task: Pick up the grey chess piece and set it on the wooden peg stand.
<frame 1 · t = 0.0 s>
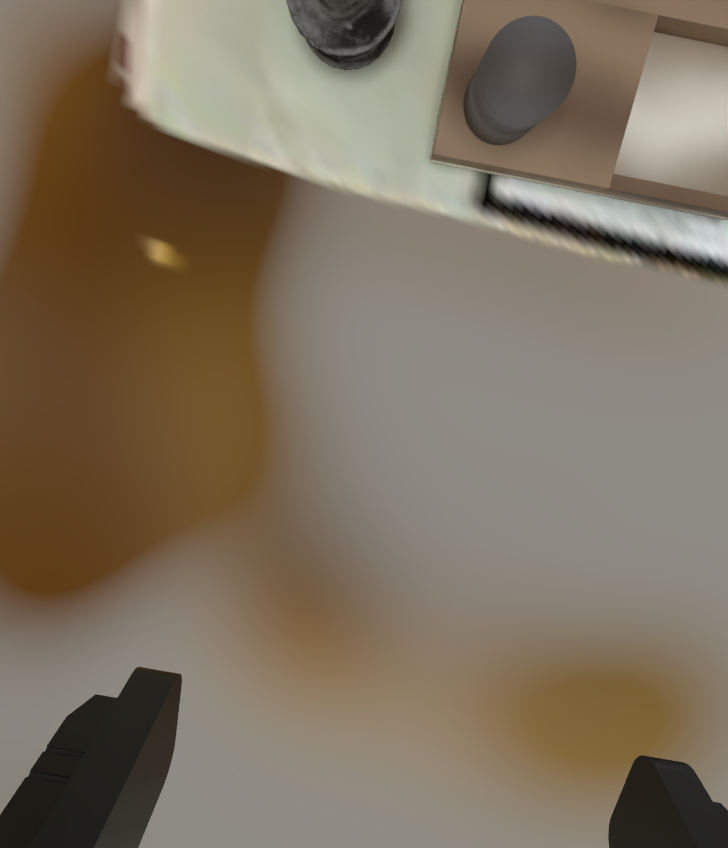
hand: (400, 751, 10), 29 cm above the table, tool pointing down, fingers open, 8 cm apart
wooden peg stand: (624, 17, 32), on the table
grey chess piece: (348, 17, 32), on the table
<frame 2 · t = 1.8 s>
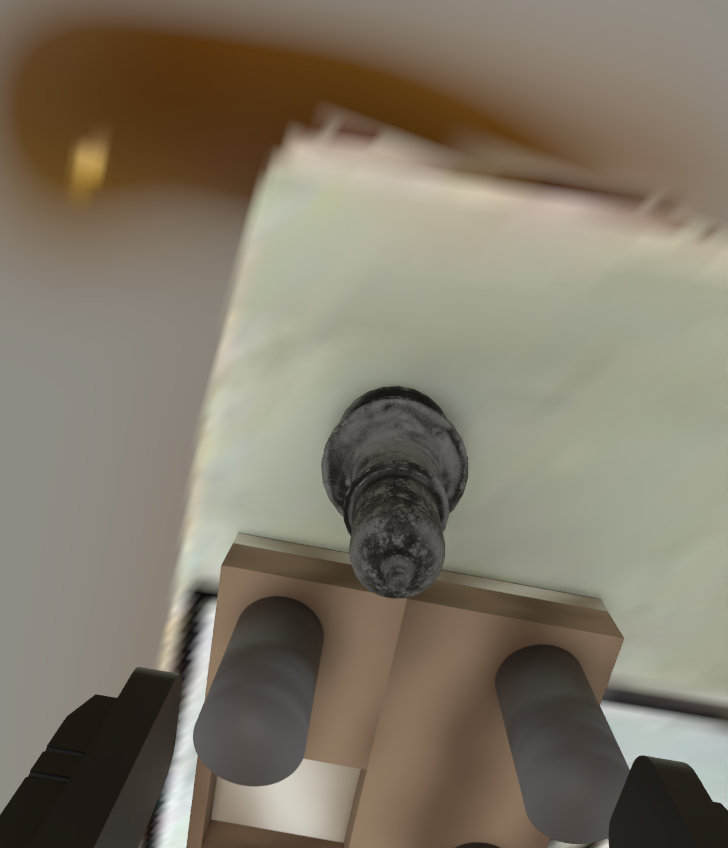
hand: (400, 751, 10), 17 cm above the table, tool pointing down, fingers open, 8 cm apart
wooden peg stand: (385, 713, 31), on the table
grey chess piece: (393, 441, 27), on the table
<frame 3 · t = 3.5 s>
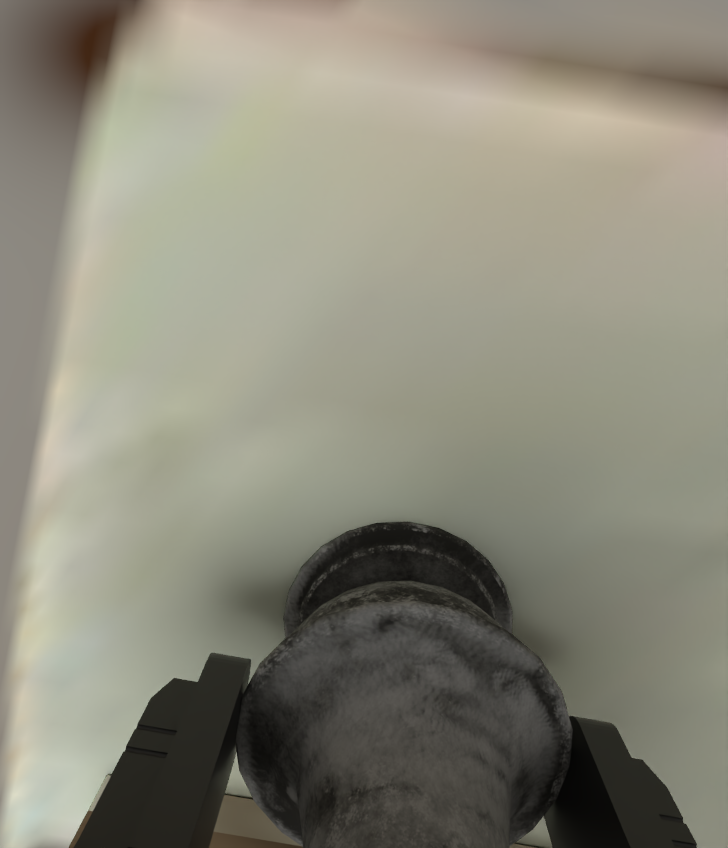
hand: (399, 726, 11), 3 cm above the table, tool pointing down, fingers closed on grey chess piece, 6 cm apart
grey chess piece: (397, 619, 14), on the table, touching gripper
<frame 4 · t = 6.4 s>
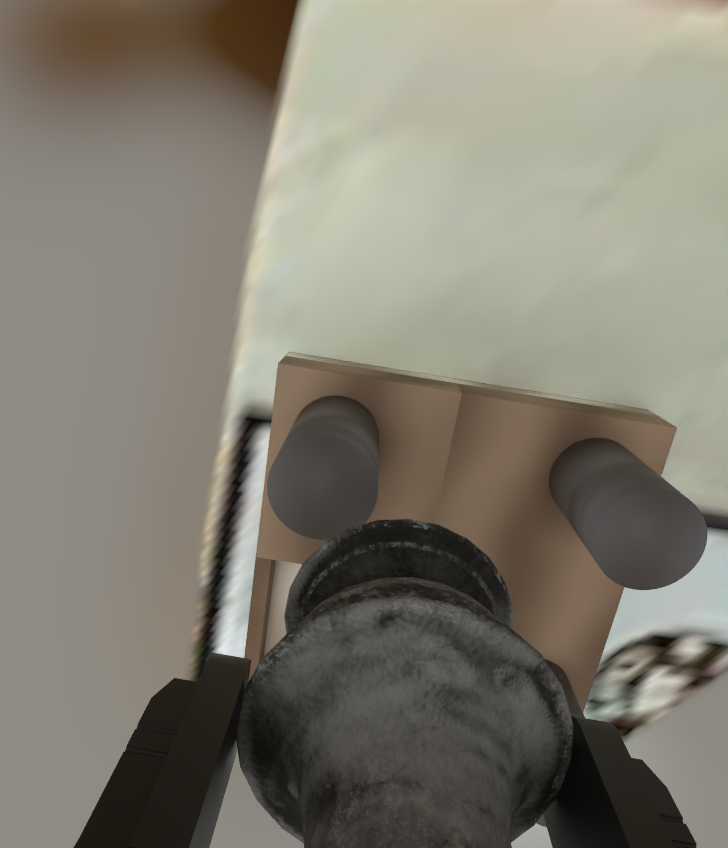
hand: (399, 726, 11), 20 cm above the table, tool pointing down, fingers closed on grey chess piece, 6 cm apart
wooden peg stand: (434, 542, 31), on the table
grey chess piece: (397, 616, 14), point 16 cm above the table, touching gripper
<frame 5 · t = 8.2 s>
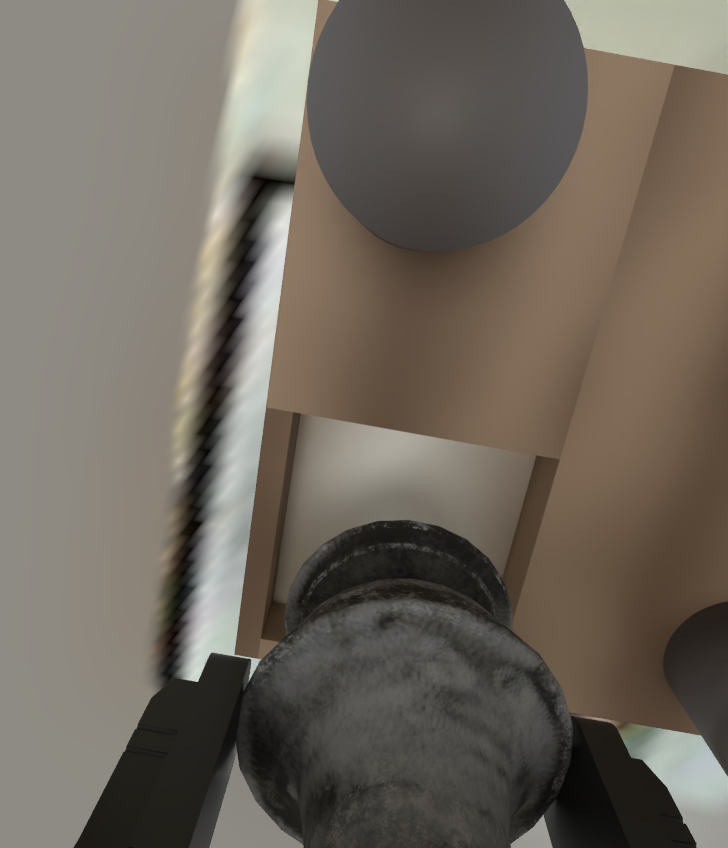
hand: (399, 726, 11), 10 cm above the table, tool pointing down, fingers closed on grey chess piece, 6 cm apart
wooden peg stand: (562, 410, 19), on the table
grey chess piece: (397, 617, 14), point 6 cm above the table, touching gripper
when the fingers open (5 cm above the table, at t = 9.6 s): grey chess piece stays where it is, resting on wooden peg stand.
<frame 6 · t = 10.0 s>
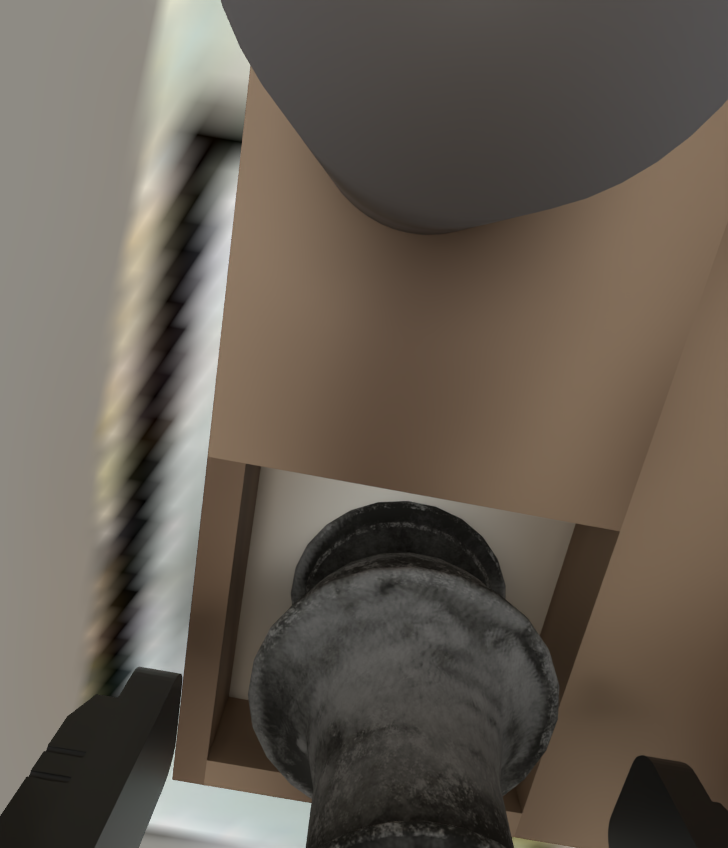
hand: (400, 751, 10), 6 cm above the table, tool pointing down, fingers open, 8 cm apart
wooden peg stand: (611, 452, 14), on the table
grey chess piece: (397, 594, 15), point 1 cm above the table, touching wooden peg stand
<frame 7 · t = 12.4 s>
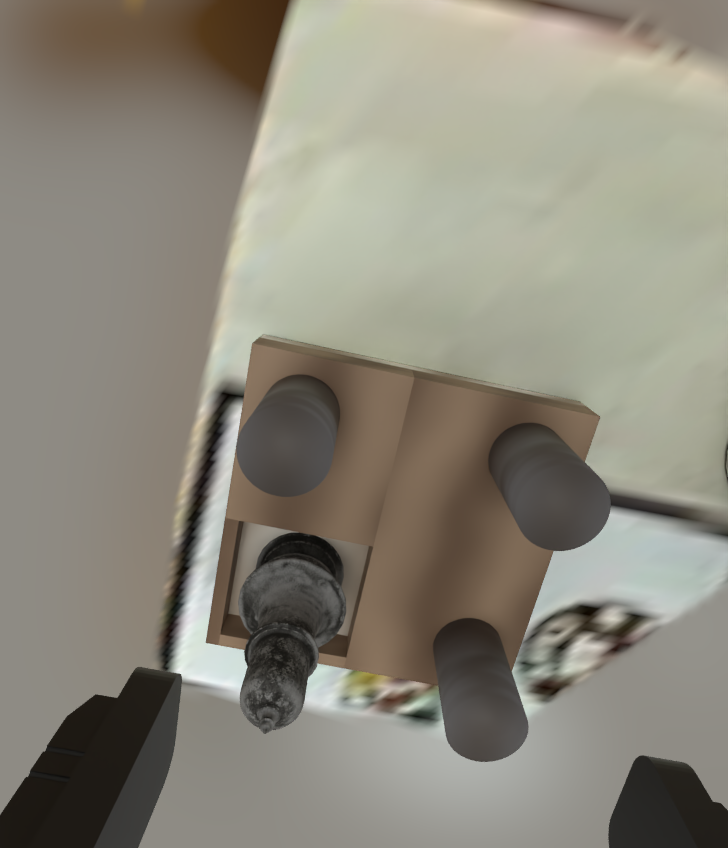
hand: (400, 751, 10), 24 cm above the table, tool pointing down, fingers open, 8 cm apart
wooden peg stand: (388, 513, 35), on the table
grey chess piece: (300, 570, 35), point 1 cm above the table, touching wooden peg stand
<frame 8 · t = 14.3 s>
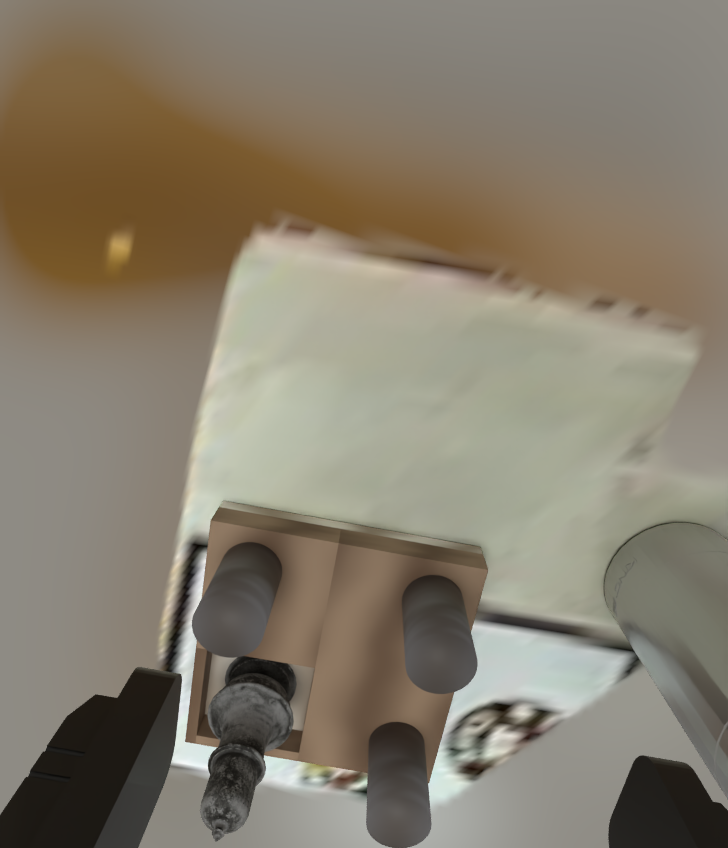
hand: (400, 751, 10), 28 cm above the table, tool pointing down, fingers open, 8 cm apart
wooden peg stand: (331, 633, 42), on the table
grey chess piece: (261, 679, 43), point 1 cm above the table, touching wooden peg stand
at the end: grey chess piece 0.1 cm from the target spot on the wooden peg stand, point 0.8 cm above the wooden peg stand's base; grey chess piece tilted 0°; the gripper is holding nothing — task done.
